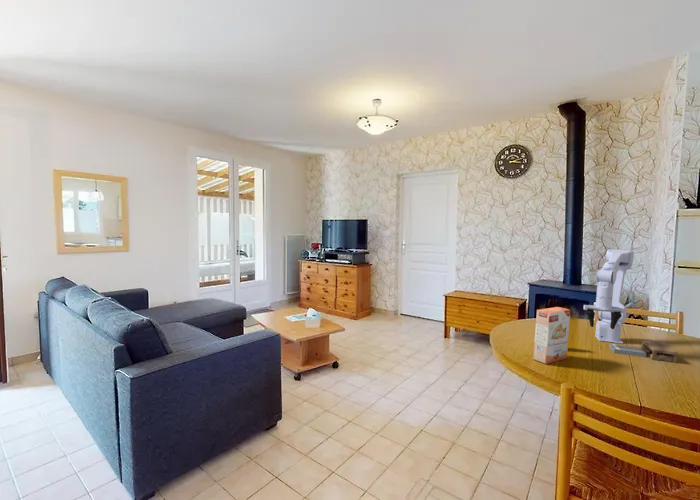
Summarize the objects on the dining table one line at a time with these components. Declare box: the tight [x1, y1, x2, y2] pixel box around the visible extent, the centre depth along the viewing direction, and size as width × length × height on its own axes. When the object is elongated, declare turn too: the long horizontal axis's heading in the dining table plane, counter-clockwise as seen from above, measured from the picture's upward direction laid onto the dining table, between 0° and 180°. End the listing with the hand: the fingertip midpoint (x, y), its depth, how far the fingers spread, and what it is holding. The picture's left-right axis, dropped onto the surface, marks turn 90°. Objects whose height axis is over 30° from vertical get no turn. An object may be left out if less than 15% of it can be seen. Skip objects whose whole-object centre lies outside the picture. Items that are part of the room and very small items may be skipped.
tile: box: [608, 343, 647, 358], centre depth 150 cm, size 11×7×2 cm, turn 68°
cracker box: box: [532, 306, 572, 365], centre depth 140 cm, size 14×6×21 cm, turn 117°
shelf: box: [640, 340, 678, 364], centre depth 145 cm, size 8×12×4 cm, turn 157°
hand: (601, 327), depth 152 cm, fingers open, 7 cm apart
